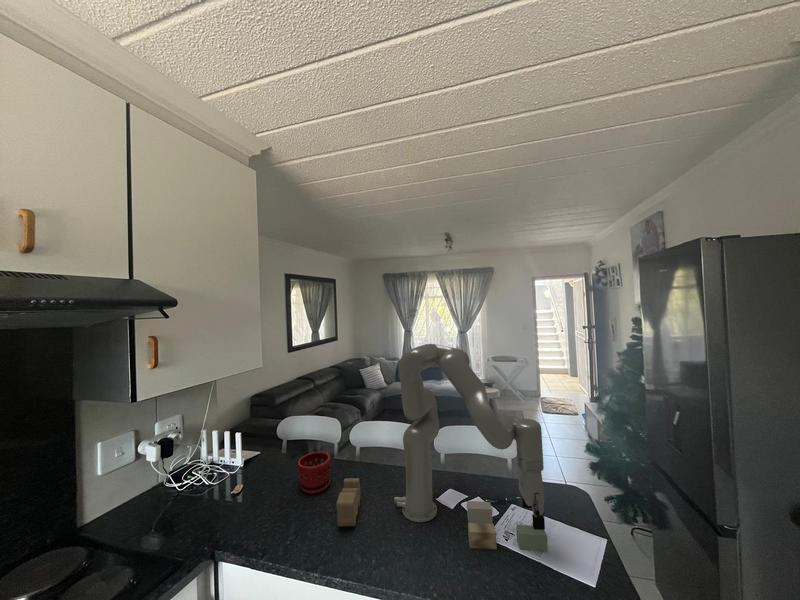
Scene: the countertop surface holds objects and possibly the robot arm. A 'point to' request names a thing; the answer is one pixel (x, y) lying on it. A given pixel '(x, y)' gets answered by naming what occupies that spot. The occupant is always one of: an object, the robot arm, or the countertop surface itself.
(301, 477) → the plant pot
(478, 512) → the offwhite brick
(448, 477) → the countertop surface
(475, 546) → the beech brick
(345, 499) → the toy train
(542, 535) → the sage brick
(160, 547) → the countertop surface
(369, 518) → the countertop surface
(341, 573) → the countertop surface
